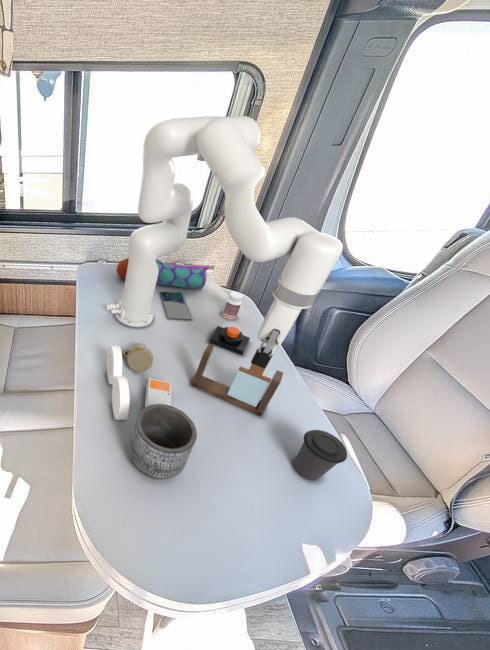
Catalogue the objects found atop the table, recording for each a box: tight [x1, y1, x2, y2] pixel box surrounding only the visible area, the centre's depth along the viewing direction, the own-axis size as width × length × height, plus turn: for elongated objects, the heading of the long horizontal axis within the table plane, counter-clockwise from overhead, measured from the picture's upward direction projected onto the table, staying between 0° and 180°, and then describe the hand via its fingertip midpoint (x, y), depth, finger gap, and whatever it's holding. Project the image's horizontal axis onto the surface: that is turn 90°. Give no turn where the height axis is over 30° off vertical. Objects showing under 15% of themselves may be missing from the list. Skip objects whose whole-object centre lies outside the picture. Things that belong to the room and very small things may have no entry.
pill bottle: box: [221, 291, 244, 320], centre depth 131 cm, size 5×5×8 cm
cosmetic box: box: [144, 377, 173, 408], centre depth 99 cm, size 6×4×12 cm
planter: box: [128, 404, 198, 481], centre depth 83 cm, size 12×12×13 cm
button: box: [226, 326, 241, 338], centre depth 119 cm, size 4×4×2 cm
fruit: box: [116, 257, 129, 280], centre depth 148 cm, size 9×9×8 cm
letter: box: [106, 345, 131, 421], centre depth 100 cm, size 22×2×10 cm, turn 0°
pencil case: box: [156, 257, 210, 290], centre depth 145 cm, size 21×9×10 cm, turn 76°
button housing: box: [208, 325, 251, 356], centre depth 121 cm, size 10×8×4 cm
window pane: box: [227, 363, 272, 407], centre depth 97 cm, size 7×1×13 cm, turn 55°
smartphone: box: [160, 291, 192, 321], centre depth 137 cm, size 8×1×16 cm
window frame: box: [191, 343, 284, 417], centre depth 100 cm, size 18×4×12 cm, turn 55°
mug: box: [122, 342, 154, 373], centre depth 111 cm, size 8×10×10 cm
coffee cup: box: [292, 429, 348, 482], centre depth 84 cm, size 8×8×10 cm
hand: (262, 353), depth 91 cm, fingers open, 9 cm apart
